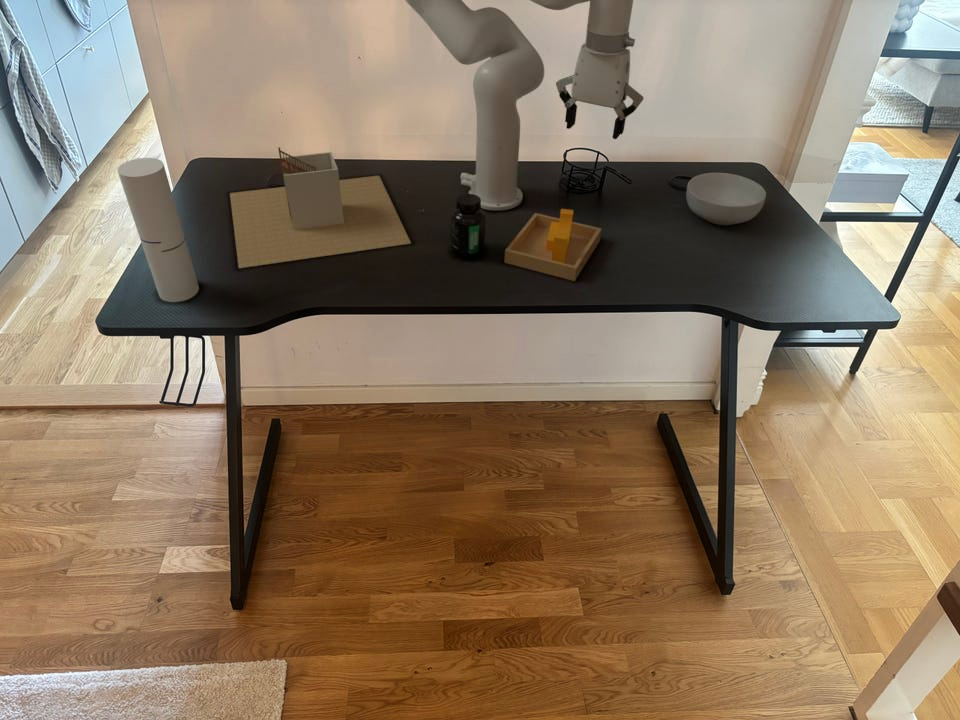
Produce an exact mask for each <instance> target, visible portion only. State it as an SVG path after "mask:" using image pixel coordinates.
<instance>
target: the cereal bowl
mask: <svg viewBox="0 0 960 720" xmlns="http://www.w3.org/2000/svg"><path fill="white" fill-rule="evenodd" d="M685 193H686V194H685V196H686V197H685V198H686V202H687V205H688V208H689V209H690V210H691V212H693V213H694V214H695V215H696V216H698V217H699V218H701V219H703V220H705V221H707V222H708V223H711V224H714V225H718V226H731V225H736V224H741V223H745V222H748V221H750V220H752V219H753V218H755V217H756V216H757V215H758V214H759V213H760V211H761V210H762V209H763V207H764V204H765V202H766V198H767V192H766V190H765V188H764V187H763V186H762V185H761V184H760V183H758V182H756V181H754V180H752V179H751V178H748V177H745V176H742V175H738V174H734V173H727V172H707V173H701V174H698V175H696V176H694V177H692V178H691V179H690V180H689V181H688V182H687V185H686V192H685Z"/></svg>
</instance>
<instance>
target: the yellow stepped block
mask: <svg viewBox="0 0 960 720" xmlns="http://www.w3.org/2000/svg"><path fill="white" fill-rule="evenodd" d="M574 211H575V210H574V209H569V208H568V209H566V208H561V209H560V212H559V222H551V226H550V229H549V234H548V239H547V247H546V250H548V251H552V260H554V261H558V262H562V263H565V259H566V255H567V250H568V246H569V241H570V236H571V228H572V222H573V218H574Z"/></svg>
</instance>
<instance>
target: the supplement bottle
mask: <svg viewBox="0 0 960 720" xmlns="http://www.w3.org/2000/svg"><path fill="white" fill-rule="evenodd" d="M455 201H456V203H455V209H454V210H453V211H452V213H451V215H450V217H451V218H450V229H451V230H450V233H451V234H450V238H451V239H450V243H451V244H450V248H451V249H450V250H451V252H452V254H453V256H455V257H456V258H457V259H460V260H468V261H469V260H475V259H478V258H480V257H481V256H482V255H483V254H484V253H485V239H486V213H485V212H484V209H482V208H481V199H480V198H479V197H478V196H477V195H474V194H469V193H463V194H460V195H458V196H457V197H456V199H455Z"/></svg>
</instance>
